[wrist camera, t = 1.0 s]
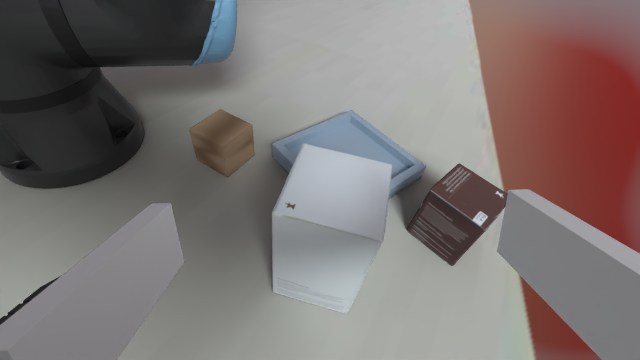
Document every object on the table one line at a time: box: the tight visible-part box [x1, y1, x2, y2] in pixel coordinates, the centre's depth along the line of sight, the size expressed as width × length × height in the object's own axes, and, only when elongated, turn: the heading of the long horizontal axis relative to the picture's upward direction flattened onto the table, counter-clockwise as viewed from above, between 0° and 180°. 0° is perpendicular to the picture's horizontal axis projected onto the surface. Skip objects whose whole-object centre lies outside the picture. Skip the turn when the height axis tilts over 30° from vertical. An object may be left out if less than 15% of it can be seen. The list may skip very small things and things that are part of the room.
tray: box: [272, 110, 426, 198], centre depth 39 cm, size 14×14×2 cm
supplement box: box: [272, 143, 392, 314], centre depth 26 cm, size 7×7×13 cm
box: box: [407, 164, 508, 266], centre depth 32 cm, size 6×6×7 cm
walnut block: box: [189, 109, 254, 177], centre depth 37 cm, size 5×5×5 cm
